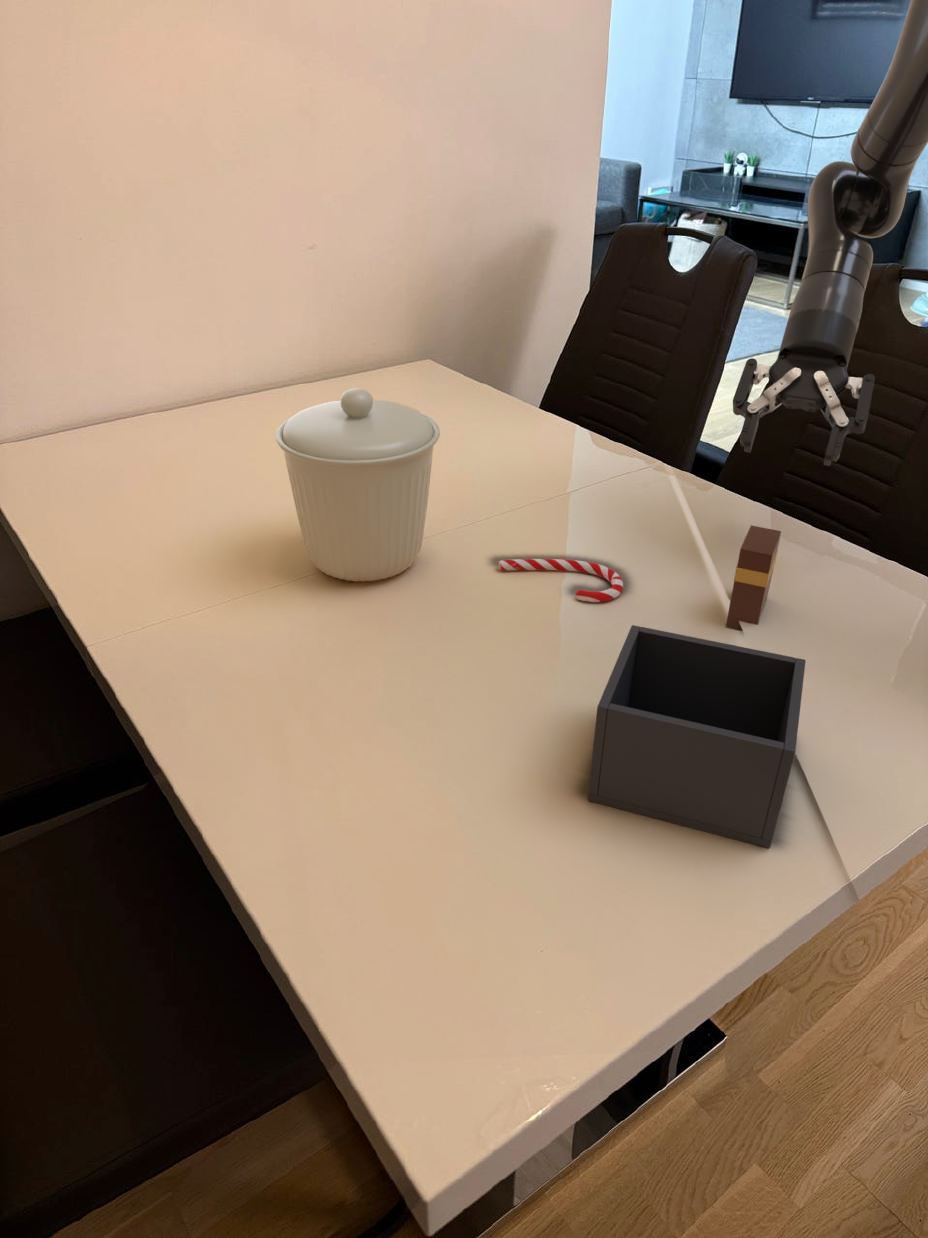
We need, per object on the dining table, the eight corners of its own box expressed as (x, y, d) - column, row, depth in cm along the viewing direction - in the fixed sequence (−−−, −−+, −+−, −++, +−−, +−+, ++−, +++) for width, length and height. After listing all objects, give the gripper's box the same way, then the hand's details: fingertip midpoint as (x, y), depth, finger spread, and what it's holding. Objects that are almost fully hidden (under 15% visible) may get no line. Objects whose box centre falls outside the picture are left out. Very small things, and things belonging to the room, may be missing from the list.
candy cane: (505, 547, 111) (629, 566, 107) (504, 557, 111) (628, 575, 108) (487, 577, 104) (618, 598, 101) (487, 587, 105) (617, 608, 101)
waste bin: (782, 750, 81) (805, 659, 76) (769, 848, 71) (795, 751, 66) (620, 713, 85) (631, 624, 80) (586, 800, 75) (597, 706, 70)
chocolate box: (765, 607, 102) (782, 530, 97) (756, 634, 97) (773, 555, 92) (735, 600, 103) (750, 524, 98) (724, 627, 98) (739, 548, 93)
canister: (442, 598, 103) (442, 417, 92) (280, 601, 102) (260, 418, 91) (437, 526, 118) (437, 364, 107) (296, 528, 117) (281, 365, 106)
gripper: (757, 299, 102) (720, 430, 100) (894, 313, 97) (859, 452, 95) (757, 335, 109) (722, 459, 106) (884, 351, 104) (851, 481, 101)
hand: (786, 455), depth 100 cm, fingers open, 8 cm apart
